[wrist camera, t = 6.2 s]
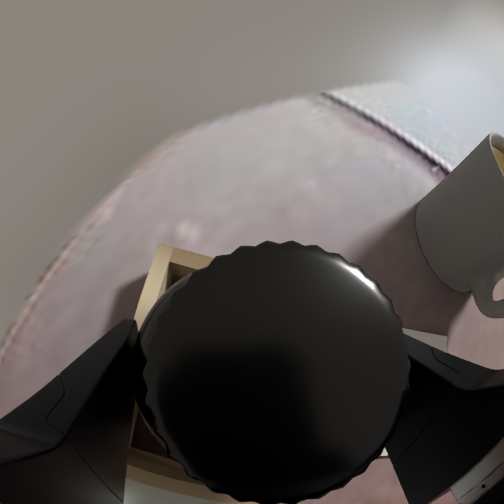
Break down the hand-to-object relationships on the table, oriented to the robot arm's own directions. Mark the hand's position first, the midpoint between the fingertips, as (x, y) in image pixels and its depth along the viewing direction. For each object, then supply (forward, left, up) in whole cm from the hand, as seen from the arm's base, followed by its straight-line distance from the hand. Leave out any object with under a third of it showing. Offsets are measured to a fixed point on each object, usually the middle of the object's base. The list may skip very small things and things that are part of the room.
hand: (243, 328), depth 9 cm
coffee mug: (+11, -18, -7) cm, 22 cm away
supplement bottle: (-1, 0, -7) cm, 7 cm away
